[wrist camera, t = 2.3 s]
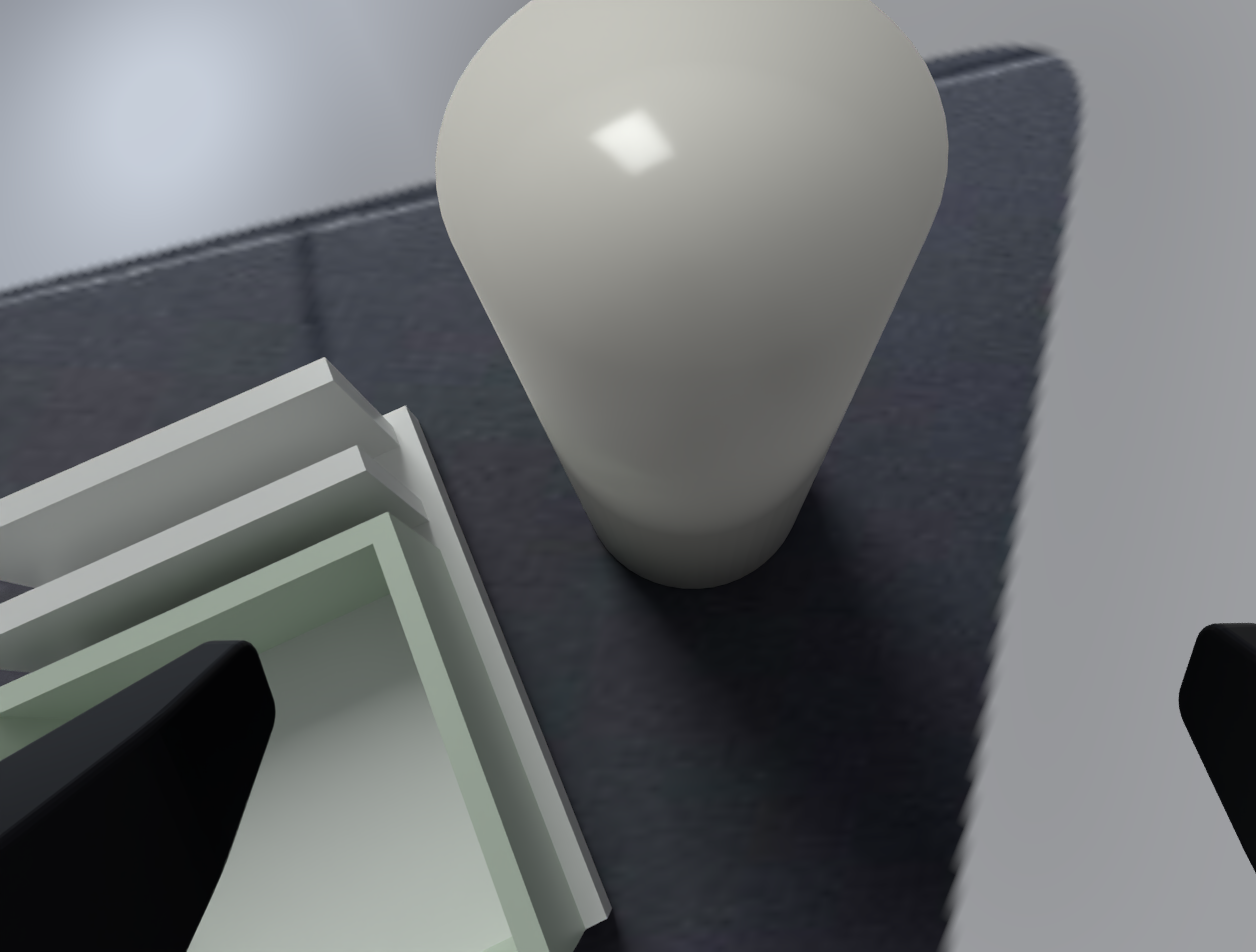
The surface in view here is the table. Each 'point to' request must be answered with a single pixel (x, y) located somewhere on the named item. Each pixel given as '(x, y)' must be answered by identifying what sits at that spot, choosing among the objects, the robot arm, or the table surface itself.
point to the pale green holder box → (311, 670)
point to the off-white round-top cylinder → (692, 248)
